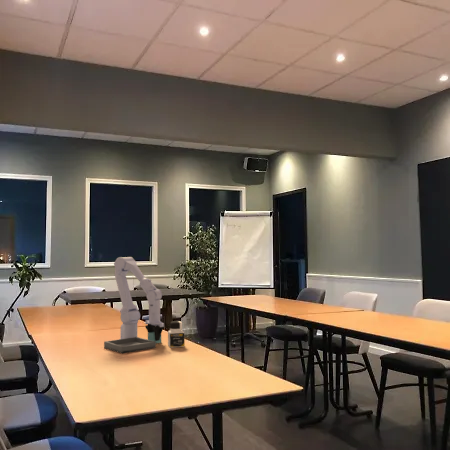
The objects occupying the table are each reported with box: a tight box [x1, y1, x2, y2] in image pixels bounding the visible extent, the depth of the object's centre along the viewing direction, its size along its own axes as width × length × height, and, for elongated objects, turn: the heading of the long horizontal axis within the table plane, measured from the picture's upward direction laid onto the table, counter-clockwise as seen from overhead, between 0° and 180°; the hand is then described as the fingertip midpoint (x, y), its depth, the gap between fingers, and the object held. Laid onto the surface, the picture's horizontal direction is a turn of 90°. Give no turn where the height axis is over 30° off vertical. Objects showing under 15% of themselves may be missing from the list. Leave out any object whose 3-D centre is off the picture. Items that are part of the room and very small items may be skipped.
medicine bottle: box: [167, 320, 186, 349], centre depth 228 cm, size 7×7×12 cm
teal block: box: [147, 332, 162, 344], centre depth 237 cm, size 5×5×5 cm
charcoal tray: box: [103, 336, 157, 354], centre depth 224 cm, size 18×18×3 cm
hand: (154, 339), depth 237 cm, fingers closed on teal block, 5 cm apart
